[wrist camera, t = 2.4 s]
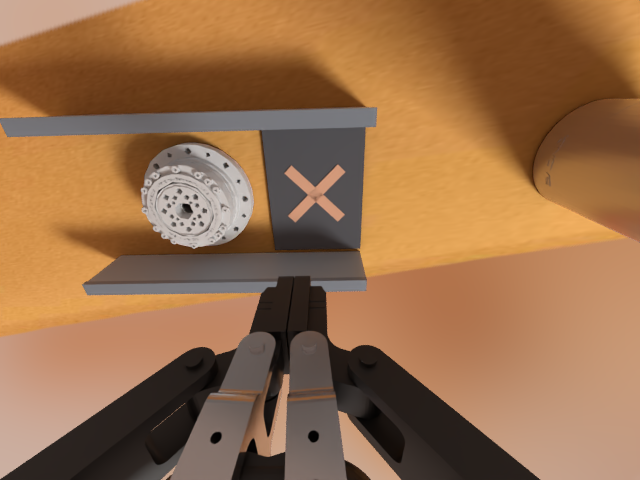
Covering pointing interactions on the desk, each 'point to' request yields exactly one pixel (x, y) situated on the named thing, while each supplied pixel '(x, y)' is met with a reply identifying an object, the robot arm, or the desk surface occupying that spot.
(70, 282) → the desk surface
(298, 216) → the pad
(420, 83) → the desk surface
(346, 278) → the plastic channel
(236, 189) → the mechanical component
